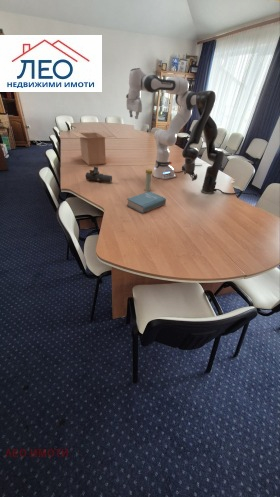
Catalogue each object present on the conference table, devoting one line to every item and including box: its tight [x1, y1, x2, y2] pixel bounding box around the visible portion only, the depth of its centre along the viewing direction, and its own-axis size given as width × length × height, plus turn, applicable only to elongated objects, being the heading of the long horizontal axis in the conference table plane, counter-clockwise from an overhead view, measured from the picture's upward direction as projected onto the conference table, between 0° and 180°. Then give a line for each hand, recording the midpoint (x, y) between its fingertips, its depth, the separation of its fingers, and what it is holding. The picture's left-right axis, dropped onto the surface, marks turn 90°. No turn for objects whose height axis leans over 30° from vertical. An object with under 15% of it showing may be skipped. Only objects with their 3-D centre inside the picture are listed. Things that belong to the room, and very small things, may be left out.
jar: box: [144, 172, 153, 192], centre depth 176 cm, size 4×4×16 cm
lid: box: [145, 168, 153, 174], centre depth 172 cm, size 5×5×2 cm
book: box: [126, 190, 167, 214], centre depth 156 cm, size 23×16×5 cm
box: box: [70, 129, 114, 166], centre depth 229 cm, size 44×36×27 cm
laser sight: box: [85, 166, 113, 184], centre depth 187 cm, size 10×22×10 cm, turn 78°
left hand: (133, 118), depth 170 cm, fingers open, 8 cm apart
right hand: (189, 176), depth 179 cm, fingers open, 8 cm apart
